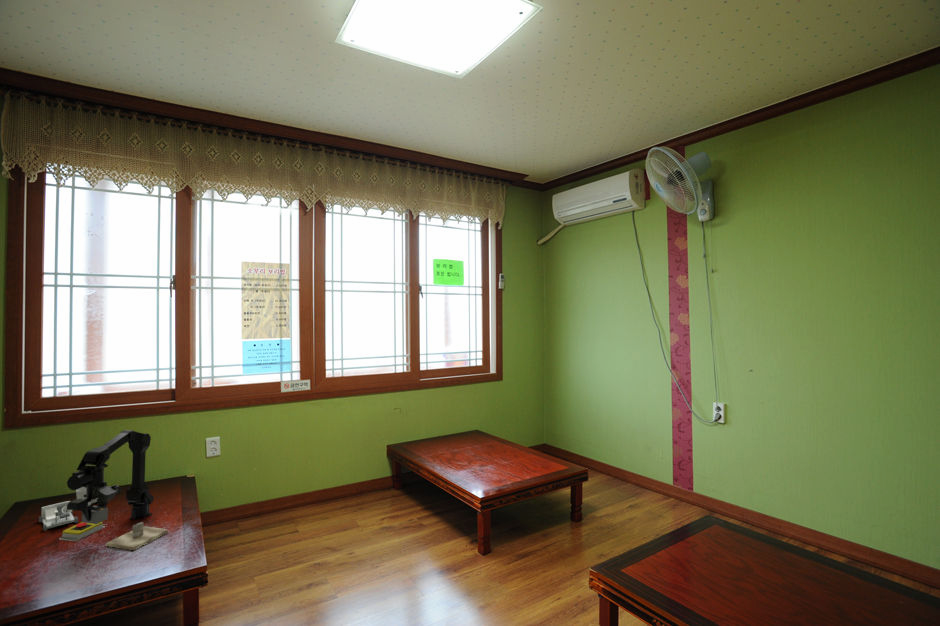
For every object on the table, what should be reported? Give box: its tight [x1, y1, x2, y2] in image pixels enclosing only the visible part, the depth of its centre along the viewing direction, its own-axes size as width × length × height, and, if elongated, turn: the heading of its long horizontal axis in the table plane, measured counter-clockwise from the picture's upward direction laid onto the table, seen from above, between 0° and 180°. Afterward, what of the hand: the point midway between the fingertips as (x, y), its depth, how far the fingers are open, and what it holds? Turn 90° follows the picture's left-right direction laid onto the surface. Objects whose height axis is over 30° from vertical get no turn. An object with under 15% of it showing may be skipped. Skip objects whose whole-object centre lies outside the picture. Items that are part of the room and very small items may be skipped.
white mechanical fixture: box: [38, 500, 79, 532], centre depth 214 cm, size 18×10×12 cm
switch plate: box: [106, 521, 169, 551], centre depth 200 cm, size 16×14×6 cm
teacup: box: [75, 487, 97, 505], centre depth 239 cm, size 14×11×8 cm
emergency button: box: [58, 521, 106, 542], centre depth 206 cm, size 9×4×15 cm
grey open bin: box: [81, 505, 109, 524], centre depth 196 cm, size 7×5×5 cm, turn 79°
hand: (95, 518), depth 196 cm, fingers closed on grey open bin, 5 cm apart
